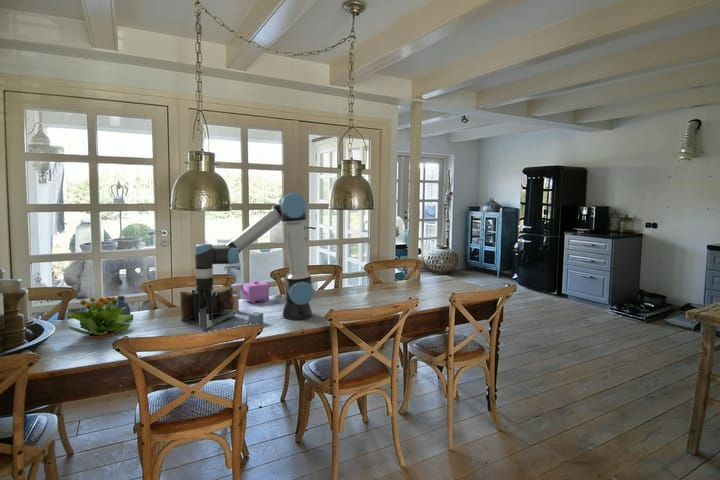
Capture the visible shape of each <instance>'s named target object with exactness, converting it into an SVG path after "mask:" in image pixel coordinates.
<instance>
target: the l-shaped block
mask: <svg viewBox="0 0 720 480" xmlns="http://www.w3.org/2000/svg"><path fill="white" fill-rule="evenodd" d="M239 305H240V303H239V294H233V309H235V313H237V311H238V312H240V310H239V308H240V307H239Z"/></svg>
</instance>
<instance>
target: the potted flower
mask: <svg viewBox="0 0 720 480" xmlns="http://www.w3.org/2000/svg"><path fill="white" fill-rule="evenodd" d="M79 302H80V306H81V305H82V306H83V307H84V310H81V311H80V312H79V311H74V312H73V311H72V312H65V313H64V315H65V316H66V318H70V319H73V320H77V321H79V325H80V328H81V329H80V328H77V327H73V326H67V328H68V329H69V330H71V331H73V332H76V333H78V334H79V333H80V334H83V335H88V336H89V338H90V339H92V340H94V339H95V340H99V339H100V340H101V339H106V338H110V337H112V336H115V334H122V333H123V332H126V330H128V329H129V328H130V327H131V324H130V323H124V322H133V320H134V314H133V313H130V314H129V315H126V314H124V315H121V313H123V312H124V311H123V310H124V309H126V307H124V308H122V309H121V308H116V309H115V308H114V305H115V304H116V305H117V303H118V298H116V297H115V296H111V297H109V296H106V297H100V298H99V299H98V300H96V298H95V297H94V296H91V297H90V298H89V300H87V301H86V299H85V298H84V299H81V300H80V301H79ZM116 305H115V306H116ZM104 306H105V308H104ZM87 310H88V311H87Z"/></svg>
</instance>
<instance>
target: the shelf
mask: <svg viewBox="0 0 720 480" xmlns="http://www.w3.org/2000/svg"><path fill="white" fill-rule="evenodd" d="M212 287H213V290H214V291H218V295H217V303H218V304H217V307H221V308H229V309H233V293H234V290H233V289H234V287H229V286H221V285H213V286H212ZM196 288H197V286H195V287H191V288H188V289H184V290H182V291H180V295H179V296H180V319H181V322H185V321H187V320H190V319H192V318H195V316H194V313H193V307H192V302H193V294H192V290H195V289H196ZM198 294H199V293H198ZM211 294H212V293H211ZM204 299H205V298H204ZM211 300H212V298H211ZM214 314H215V313H214V312H213V315H214ZM215 315H216V314H215ZM219 315H220V316H222V315H223V314H219Z"/></svg>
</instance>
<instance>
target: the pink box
mask: <svg viewBox="0 0 720 480" xmlns="http://www.w3.org/2000/svg"><path fill="white" fill-rule="evenodd" d="M236 286H237V287H239V288H240V291H241V294H242V295H243V299H244V300H246V301H247V302H249V303H250V304H253V305H255V304H256V302H259V301H260V303H266V301H269V300H270V288H271V286H270V284H269V283H267V282H264V281H259V280H253V282H246V283H243V285H242V284H238V285H236Z"/></svg>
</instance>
